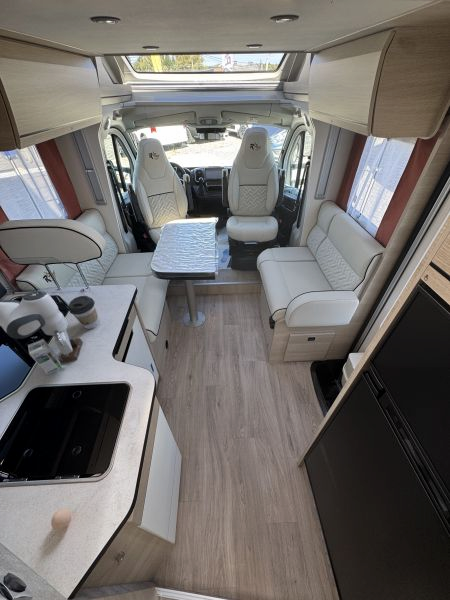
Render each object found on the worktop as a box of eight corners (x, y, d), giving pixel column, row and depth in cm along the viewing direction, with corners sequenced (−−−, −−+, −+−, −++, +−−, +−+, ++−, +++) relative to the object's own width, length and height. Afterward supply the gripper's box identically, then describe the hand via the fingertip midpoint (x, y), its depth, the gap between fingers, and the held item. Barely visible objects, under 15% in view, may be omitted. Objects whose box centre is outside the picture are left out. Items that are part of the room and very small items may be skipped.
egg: (66, 533, 69) (56, 531, 65) (53, 527, 70) (42, 524, 66) (77, 513, 72) (69, 509, 68) (64, 508, 73) (55, 504, 69)
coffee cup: (75, 332, 124) (61, 310, 114) (86, 315, 132) (74, 293, 122) (97, 332, 123) (85, 310, 113) (107, 316, 131) (96, 294, 121)
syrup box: (47, 375, 106) (28, 354, 96) (45, 365, 110) (27, 344, 100) (62, 368, 108) (45, 347, 99) (59, 359, 112) (43, 337, 102)
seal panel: (81, 359, 112) (78, 354, 109) (59, 362, 111) (55, 358, 109) (86, 341, 119) (83, 337, 117) (66, 344, 118) (62, 340, 116)
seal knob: (75, 343, 114) (72, 338, 112) (76, 345, 113) (73, 340, 111) (64, 349, 112) (60, 343, 110) (64, 351, 111) (60, 346, 109)
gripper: (67, 336, 98) (81, 358, 107) (58, 307, 110) (71, 329, 120) (49, 344, 95) (65, 365, 104) (42, 314, 108) (57, 335, 117)
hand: (69, 346), depth 112 cm, fingers closed on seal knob, 2 cm apart
